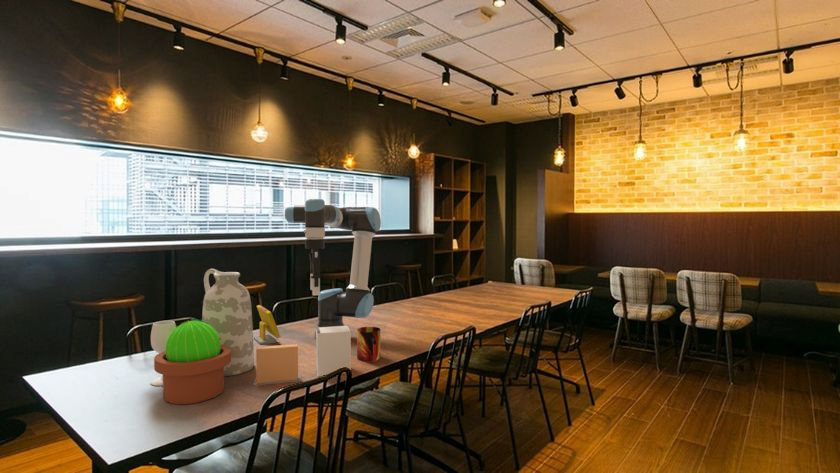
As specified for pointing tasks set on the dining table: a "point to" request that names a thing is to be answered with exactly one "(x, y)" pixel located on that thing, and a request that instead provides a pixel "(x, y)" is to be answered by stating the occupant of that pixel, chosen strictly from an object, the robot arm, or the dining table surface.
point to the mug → (368, 344)
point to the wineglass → (160, 341)
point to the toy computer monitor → (267, 327)
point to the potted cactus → (192, 363)
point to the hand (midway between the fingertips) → (314, 292)
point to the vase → (230, 318)
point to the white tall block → (332, 349)
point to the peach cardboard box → (276, 363)
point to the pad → (277, 381)
